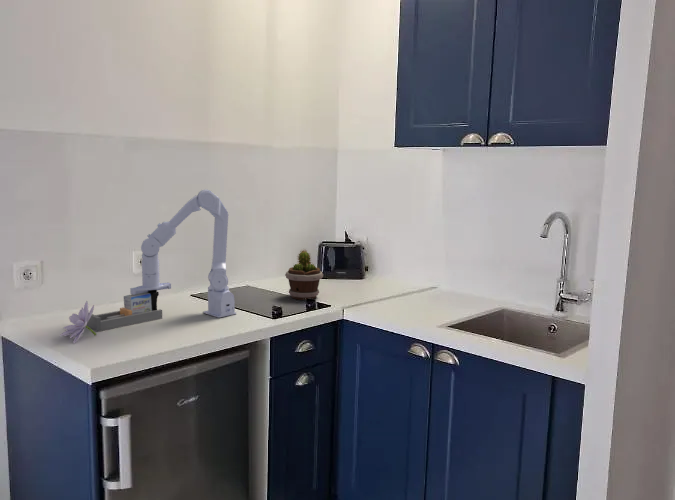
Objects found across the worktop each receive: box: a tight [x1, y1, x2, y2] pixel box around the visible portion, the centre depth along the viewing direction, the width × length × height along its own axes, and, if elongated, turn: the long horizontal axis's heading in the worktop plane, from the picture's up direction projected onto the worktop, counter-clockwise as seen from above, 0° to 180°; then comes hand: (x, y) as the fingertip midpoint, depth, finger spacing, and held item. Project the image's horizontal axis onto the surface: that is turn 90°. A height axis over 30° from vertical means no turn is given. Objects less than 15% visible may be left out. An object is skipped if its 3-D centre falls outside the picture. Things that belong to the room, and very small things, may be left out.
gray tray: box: [86, 309, 163, 332], centre depth 200 cm, size 9×23×4 cm, turn 138°
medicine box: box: [123, 292, 152, 315], centre depth 203 cm, size 8×4×9 cm, turn 140°
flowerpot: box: [284, 249, 324, 301], centre depth 240 cm, size 14×15×20 cm
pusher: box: [107, 307, 132, 319], centre depth 198 cm, size 6×7×4 cm
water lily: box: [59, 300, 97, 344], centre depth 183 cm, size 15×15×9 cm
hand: (151, 311), depth 207 cm, fingers closed, pressing on medicine box
